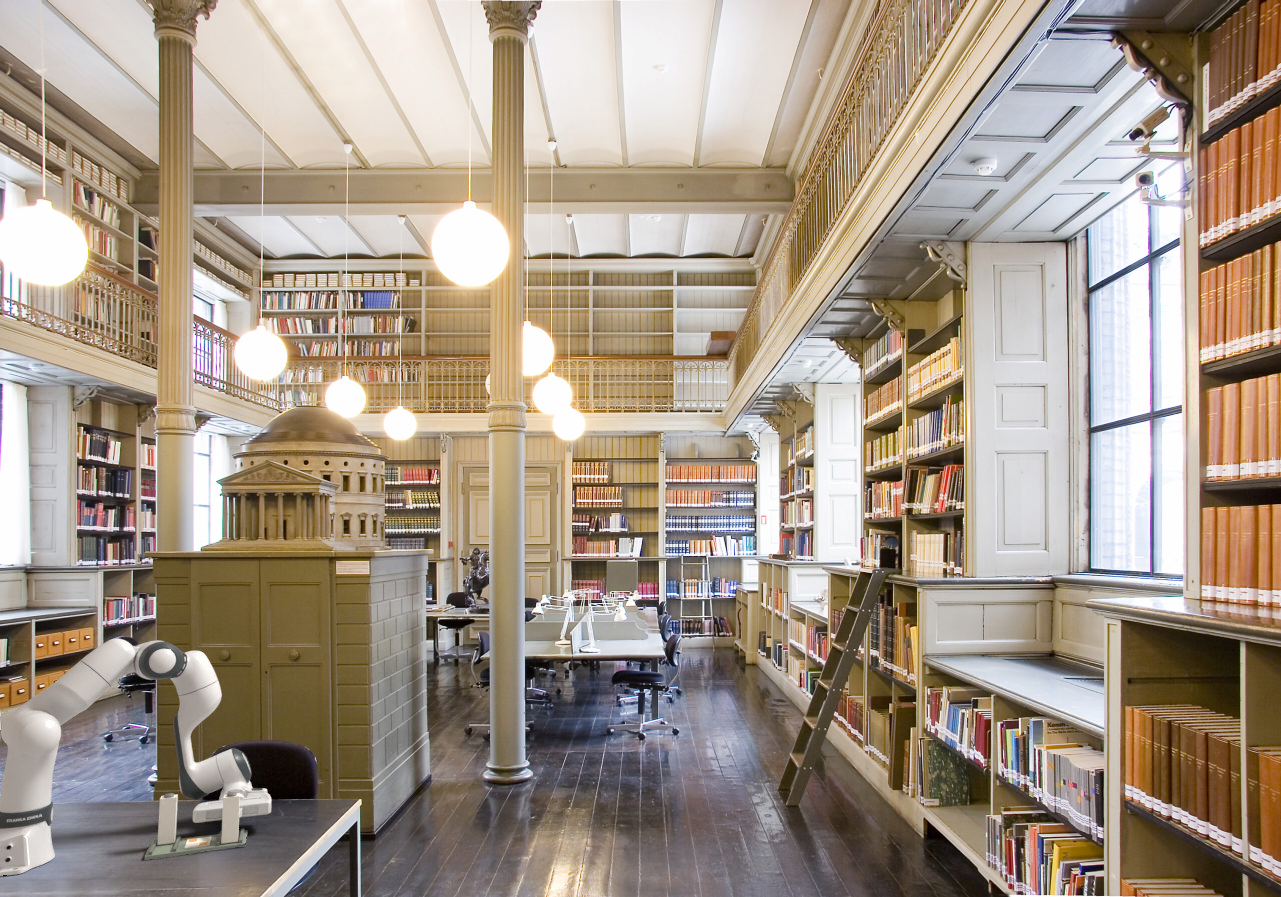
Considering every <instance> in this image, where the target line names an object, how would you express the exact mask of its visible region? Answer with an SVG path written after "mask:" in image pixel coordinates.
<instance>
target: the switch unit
mask: <svg viewBox="0 0 1281 897" xmlns="http://www.w3.org/2000/svg"><path fill="white" fill-rule="evenodd" d="M248 831H249V830H245V828H243V827H242V828H241V829H240V830H239V833H238V842H231V843H223V844H221V840H222V830H221V831H220V830H219V832H218V833H216V834H208V835H207V834H206V835H199V836H193V837H192V836H191V837H184V838H182V835H181V836H180V835H179V836H176V840H175V842H174V843H169V844H161V845H158V838H155V839H154V840H153V841H151V842H150V845H149V847H148V849H147V850H146V853H145V855H144V861H150V859H152V860H158V859H166V857H167V858H173V856H174V857H180V856H179V855H182V856H187V855H186V854H189V855H192V854H191V853H196V852H202V851H207V850H212V849H218V848H224V847H231V846H237V845H243V844H245V843H246V844H247V839H246V837H247V838H248Z"/></svg>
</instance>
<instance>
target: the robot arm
mask: <svg viewBox="0 0 1281 897" xmlns="http://www.w3.org/2000/svg"><path fill="white" fill-rule="evenodd" d="M129 674H133V675H135V676H137V677H139V678H142V679H145V680H150V681H152V680H155V681H159V680H160V681H161V680H168V679H169V680H170V681H172V683H173V685H174V686H175V689H176V690H175V691H176V693H177V696H178V700H179V708H178V711H177V713H175V714H174V715H173V722H172V724H173V725H172V726H173V727H172V728H173V736H174V744H175V752H176V757H177V765H178V766H177V767H178V772H179V773H178V775H179V777H178V781H179V782H178V783H179V788H180V793H181V795H183V797H184V798H186V799H189V800H193V801H199V800H200V799H202V798H204V797H206V796H208V795H210V793H213V792H215V791H219V790H220V789H222V790H221V791H220V796H219V799H218V800H212V801H205V802H200V803H198V804H197V805H196V806H195V807H194V809H193V810H192V822H193V823H195V824H198V823H199V824H200V823H205V822H214V821H222V817H223V797H224V795H227V793H230V792H237V793H240V809H239V819H241V818H247V817H256V816H263V815H264V816H266V815H269V814H271V813H272V797H271V794H269V793H268V789H267V788H263V787H262V788H261V787H260V788H258V787H253V786H252V782H251V781H250V780H251V778H252V768H251V764H250V761H249V759H248V756H247V755H246V754H245V752H243V751H241V750H239V749H238V748H234V747H232V748H230V749H228V750H225V751H222V752H220V753H218V754H216V755H213V756H211V757H208V758H206V759H204V760H202V761H198V762H196V761H195V758H194V752H193V747H192V746H193V745H192V737H191V736H192V732H193V731H194V729H195V728H196V727H198V726H199V724H201V723H202V722H203V721H205V719H207V718H208V717H209V716H210V715H211V714H212V713H214V711H215V710H216V709H217V708H218V707H219V706H220V703H221V701H222V697H223V696H222V695H223V694H222V688H221V684H220V681H219V678H218V676H217V673H216V671H215V668H214V667H213V665H212V664H211V662H210V659H209V658H208V656H207V655H206V654H205V653H204V651H203V652H202V651H201V650H190V651H186V652H184V651H182V650H181V649H180V648H179V647H177V646H176V645H175V644H173V643H171V642H167V641H164V640H157V639H156V640H149V641H145V642H141V643H137V644H134V645H132V643H130V642H129V641H127V640H125V639H122V638H117V637H116V638H112V639H108V640H107V641H105V642H103V643H102V644H101V645H99V646H97V647H96V648H94V649H93V650H92V651H91V652H89V653H88V654H86V655H85V656H84V657H83V658H82V659H81V660H79V661H78V662H77V663H75V665H73V666H72V667H71V668H70V669H68V671H66V672H65V673H64V674H62V676H61V677H59V678H58V679H57V680H55V681H54V682H53V683H52V684H51V685H49V686H48V687H46V688H45V689H44V690H42V691H41V692H38V693H37V694H36V695H35V696H33V697H32V698H30V699H29V700H28V701H26V702H25V703H23V704H22V705H21V706H19V707H18V708H17V709H15V710H13V711H11V712H10V713H9V714H8V715H7V716H6V717H5V718H4V720H3V722H2V724H1V726H0V727H1V729H0V736H1V740H2V741H3V742H4V743H5V744H6V745H7V754H6V760H5V761H6V762H5V766H4V770H3V775H2V778H1V785H0V877H4V876H3V875H7V876H13V875H21V874H23V873H26V872H27V871H29V870H31V869H34V868H37V867H40V866H42V865H44V864H46V863H48V862H51V861H52V860H54V858H56V853H55V849H54V846H53V841H52V832H51V831H52V830H51V827H52V826H51V825H52V823H53V818H54V816H53V815H54V806H53V805H54V802H53V801H52V796H53V794H52V791H53V780H54V778H53V777H54V769H55V765H56V761H57V756H58V751H59V746H60V741H61V737H62V728H61V726H62V725H64V724H66V723H67V722H69V721H70V720H71V719H73V717H75V716H77V715H79V714H80V713H82V712H85V711H86V710H87V709H89V708H90V707H91V706H92V705H93V704H94V703H95V702H96V701H97V700H98V699H100V698H101V697H102V696H103V695H104V694H105V693H106V692H107V691H109V690H110V689H111V688H112V687H113V686H114V685H115V684H116V683H117V682H118V681H119V680H120V679H122V678H123V677H124V676H126V675H129Z"/></svg>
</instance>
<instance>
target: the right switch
mask: <svg viewBox="0 0 1281 897" xmlns="http://www.w3.org/2000/svg"><path fill="white" fill-rule="evenodd" d="M239 809H240V793H237V792H230V793H227V795H224V797H223V817H222V820H221V831H222V840H221V844H223V843H231V842H238V833H239V831H240V830H239V829H240V828H239V827H240V826H239V825H240V818H239Z"/></svg>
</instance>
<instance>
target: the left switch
mask: <svg viewBox="0 0 1281 897" xmlns="http://www.w3.org/2000/svg"><path fill="white" fill-rule="evenodd" d="M178 796H179V794H175V793H174V792H169V793H168V792H167V793H165V794H164V795H161V796H160V798H159V810H158V811H159V812H158V830H157V839H158V845H161V844H169V843H174V842H175V840H176V839H177V819H178V817H177V816H178V801H179V797H178Z"/></svg>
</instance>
